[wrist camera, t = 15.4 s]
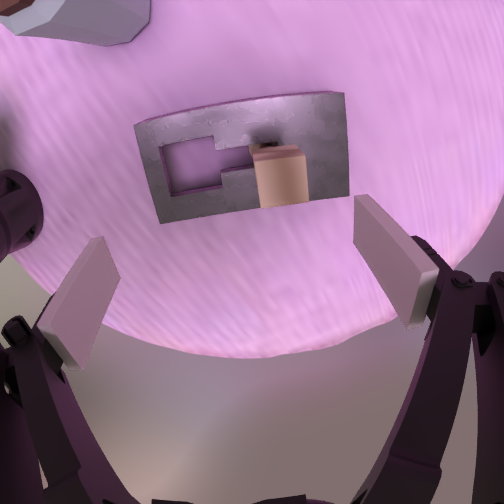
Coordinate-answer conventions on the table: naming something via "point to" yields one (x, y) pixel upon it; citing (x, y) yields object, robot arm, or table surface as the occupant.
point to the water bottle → (76, 19)
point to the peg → (279, 174)
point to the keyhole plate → (242, 134)
